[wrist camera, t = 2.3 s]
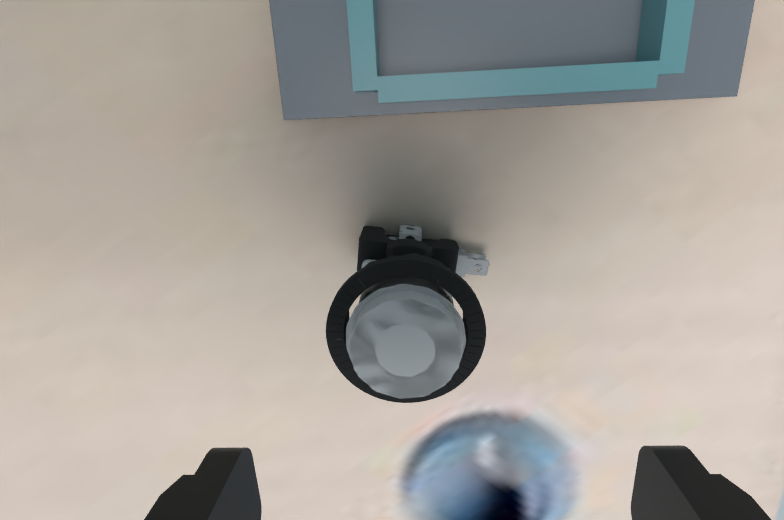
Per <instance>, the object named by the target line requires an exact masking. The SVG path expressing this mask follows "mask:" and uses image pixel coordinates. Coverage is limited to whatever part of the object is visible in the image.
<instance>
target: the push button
mask: <svg viewBox="0 0 784 520" xmlns="http://www.w3.org/2000/svg"><path fill="white" fill-rule="evenodd" d="M408 228H410V229H415V230H409V229H408ZM473 258H478V259H473ZM475 264H476V265H475ZM488 266H489V262H488V260H486V256H485V255H484V254H475V253H465V250H463V249H459V247H458V244H457V242H456V241H454V240H449V239H440V240H432V239H422V229H421V227H418V226H409V225H400V232H399V236H393V235H386V234H385V232H384V230H383V228H381V227H374V226H365V227H363V230H362V233H361V235H360V238H359V250H358V263H357V272H356V273H355V274H353V275H352V276H351V277H350V278H349V279H348V280H347V281H346V282H345V283H344V284H343V285H342V287H341V288H340V289H339V291H338V292H337V294H336V296H335V298H334V300H333V302H332V305H331V307H330V310H329V313H328V317H327V323H326V338H327V344H328V348H329V351H330V354H331V356H332V359H333V361H334V362H335V364H336V366H337V367H338V369H339V370H340V372H341V373H342V374H343V375H344V376H345V377H346V378H347V379H348V380H349V381H350V382H351V383H352V384H353V385H355V386H356V387H357V388H359V389H360V390H362V391H364V392H365V393H368V394H370V395H372V396H374V397H377V398H380V399H383V400H387V401H393V402H401V403H412V402H421V401H426V400H430V399H434V398H437V397H439V396H442V395H444V394H446V393H448V392H450V391H451V390H453V389H454V388H456V387H457V386H459V385H460V384H461V383H462V382H463V381H464V380H465V379H466V378H467V377H468V376H469V375H470V374H471V373H472V372H473V370H474V369H475V367H476V366H477V364H478V362H479V360H480V358H481V355H482V353H483V349H484V346H485V339H486V325H485V318H484V314H483V311H482V308H481V306H480V303H479V301H478V299H477V297H476V295H475V293H474V292H473V290H472V289H471V287H470V286H469V285H468V284H467V283H466V281H465V280H463V279H462V278H461V277H460V276H465V274H473V275H482V276H485V275H487V272H488ZM474 269H481V270H479V271H476V270H474ZM360 294H361V297H360V301H359V304H358V305H357V306H356V308H355V310H354V312H353V313H352V315H351V317H350V319H349V309H350V307H351V305H352V304H353V302H354V301H355V300H356V298H357V297H358V296H359V295H360ZM451 295H452V296H453V297H454V298H455V300H456V301H457V302H458V303H459V305H460V307H461V308H462V310H463V320H462V318H461V316H460V315H459V314H458V312H457V311H456V309H455V308H454V304H453V299H452V296H451Z"/></svg>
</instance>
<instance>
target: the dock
mask: <svg viewBox="0 0 784 520" xmlns="http://www.w3.org/2000/svg"><path fill="white" fill-rule="evenodd" d="M754 1H755V0H269V2H270V10H271V19H272V27H273V35H274V43H275V51H276V59H277V68H278V76H279V84H280V92H281V100H282V109H283V117H284V120H295V119H314V118H333V117H352V116H371V115H390V114H409V113H428V112H447V111H466V110H485V109H504V108H523V107H542V106H561V105H580V104H598V103H617V102H636V101H655V100H674V99H693V98H712V97H731V96H737V93H738V88H739V83H740V77H741V72H742V66H743V61H744V55H745V50H746V45H747V39H748V34H749V28H750V23H751V17H752V12H753V6H754Z"/></svg>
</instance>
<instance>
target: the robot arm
mask: <svg viewBox="0 0 784 520" xmlns="http://www.w3.org/2000/svg"><path fill="white" fill-rule="evenodd" d="M631 515H632V520H771V519H770V518H769V516H768V515H767V514H766V513H765V512H764V511H763V510H762V508H761V507H760V506H759V505H758V504H757V503H756V501H755V500H754V499H753V498H752V497H751V496H750V495H749V494H747V493H746V492H744V491H743V490H742V489H740V488H739V487H738V486H736V485H735V484H733V483H732V482H731V481H729V480H728V479H726V478H725V477H724V476H722V475H721V474H709V472H708V471H707V470H706V469H705V467H704V466H703V465H702V464H701V462H700V461H699V460H698V459H697V457H696V456H695V455H694V454H693V453H692V451H691V450H690V449H688V448H687V447H685V446H643V447H642V448H641V449H640V451H639V455H638V462H637V468H636V475H635V481H634V488H633V494H632V501H631ZM144 520H261V500H260V495H259V489H258V484H257V478H256V473H255V467H254V462H253V456H252V453H251V450H250V449H249V448H212V449H211V450H210V451H209V452H208V453H207V454H206V456H205V458H204V459H203V461H202V463H201V464H200V466H199V468H198V470H197V471H196V473H195V475H183V476H181V477H180V478H179V479H178V480H177V481H176V482H175V483H174V484H172V485H171V486H170V487H169V488H168V489H167V490H166V491H165V492H163V493H162V494H161V495H160V496H159V498H158V499H157V501H156V502H155V504H154V505H153V507H152V509H151V510H150V512H149V513H148V515H147V516H146V518H145V519H144Z"/></svg>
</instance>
